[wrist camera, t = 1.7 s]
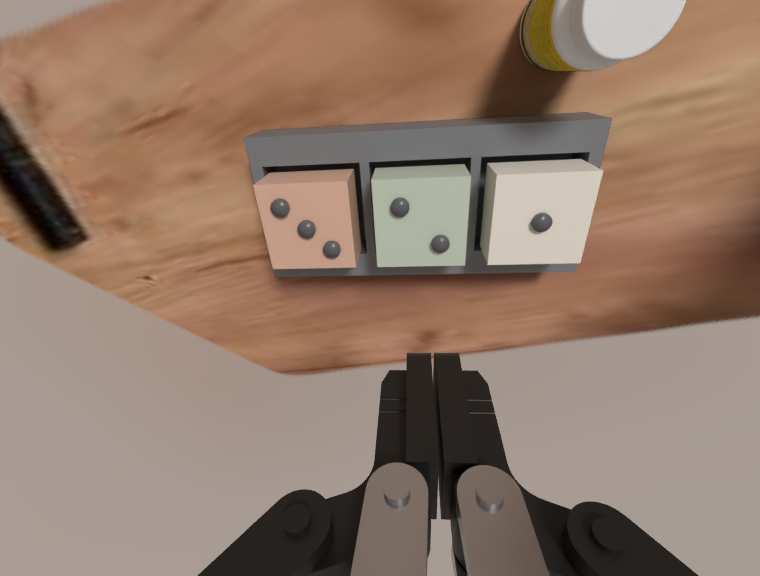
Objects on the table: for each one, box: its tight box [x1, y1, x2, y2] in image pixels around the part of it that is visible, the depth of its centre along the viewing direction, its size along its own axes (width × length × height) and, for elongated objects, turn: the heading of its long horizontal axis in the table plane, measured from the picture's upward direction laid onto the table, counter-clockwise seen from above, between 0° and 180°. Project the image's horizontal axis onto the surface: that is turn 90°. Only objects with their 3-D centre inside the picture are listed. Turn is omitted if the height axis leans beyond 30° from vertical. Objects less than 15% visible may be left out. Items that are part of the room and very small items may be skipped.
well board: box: [243, 112, 612, 277], centre depth 26 cm, size 22×10×4 cm, turn 93°
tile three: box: [253, 169, 361, 269], centre depth 24 cm, size 6×6×3 cm
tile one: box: [480, 159, 603, 265], centre depth 22 cm, size 6×6×3 cm
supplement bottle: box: [520, 0, 686, 71], centre depth 18 cm, size 5×5×8 cm
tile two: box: [371, 164, 471, 267], centre depth 23 cm, size 6×6×3 cm
